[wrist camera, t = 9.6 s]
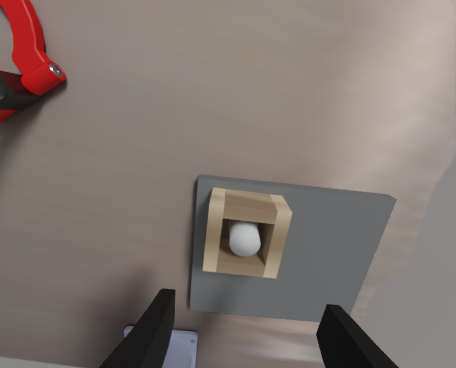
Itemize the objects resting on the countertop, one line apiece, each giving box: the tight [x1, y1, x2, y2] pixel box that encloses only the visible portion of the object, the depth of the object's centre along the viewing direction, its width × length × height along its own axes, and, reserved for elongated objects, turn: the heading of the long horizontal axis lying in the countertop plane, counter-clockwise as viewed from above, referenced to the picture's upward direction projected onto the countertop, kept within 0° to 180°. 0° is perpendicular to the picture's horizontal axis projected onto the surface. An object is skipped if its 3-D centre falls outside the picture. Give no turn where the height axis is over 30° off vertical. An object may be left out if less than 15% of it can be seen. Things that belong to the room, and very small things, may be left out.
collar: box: [203, 188, 292, 279], centre depth 17 cm, size 6×6×3 cm
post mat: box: [190, 175, 397, 322], centre depth 18 cm, size 14×16×4 cm
